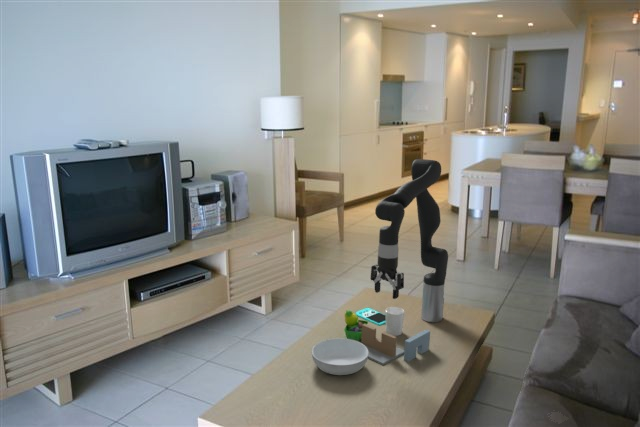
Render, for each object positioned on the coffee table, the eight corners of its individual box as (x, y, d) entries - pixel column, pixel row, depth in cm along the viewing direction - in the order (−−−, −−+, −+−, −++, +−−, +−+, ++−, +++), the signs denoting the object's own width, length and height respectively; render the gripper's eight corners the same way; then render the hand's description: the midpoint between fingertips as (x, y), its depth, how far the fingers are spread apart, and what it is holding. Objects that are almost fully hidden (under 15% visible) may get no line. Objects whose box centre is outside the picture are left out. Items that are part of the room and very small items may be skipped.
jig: (373, 338, 216) (374, 319, 214) (405, 352, 205) (406, 331, 203) (350, 350, 206) (351, 329, 204) (382, 365, 195) (383, 343, 193)
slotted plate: (424, 347, 209) (426, 329, 207) (428, 349, 207) (430, 331, 206) (403, 359, 199) (404, 340, 197) (408, 361, 198) (409, 342, 196)
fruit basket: (361, 344, 211) (362, 318, 209) (340, 340, 214) (341, 315, 211) (368, 332, 222) (369, 307, 219) (347, 329, 224) (348, 304, 222)
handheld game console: (368, 309, 246) (368, 306, 246) (394, 320, 235) (394, 317, 234) (353, 315, 240) (353, 312, 239) (379, 326, 228) (379, 324, 228)
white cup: (402, 328, 225) (403, 307, 223) (403, 337, 218) (404, 314, 215) (384, 327, 226) (385, 306, 224) (384, 336, 218) (385, 313, 216)
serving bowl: (338, 348, 207) (338, 332, 206) (379, 368, 193) (380, 351, 191) (299, 366, 193) (299, 349, 192) (340, 389, 179) (341, 371, 177)
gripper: (409, 256, 192) (407, 298, 196) (379, 248, 202) (378, 287, 206) (396, 261, 187) (394, 303, 191) (367, 252, 197) (365, 292, 201)
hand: (386, 295), depth 198 cm, fingers open, 8 cm apart
